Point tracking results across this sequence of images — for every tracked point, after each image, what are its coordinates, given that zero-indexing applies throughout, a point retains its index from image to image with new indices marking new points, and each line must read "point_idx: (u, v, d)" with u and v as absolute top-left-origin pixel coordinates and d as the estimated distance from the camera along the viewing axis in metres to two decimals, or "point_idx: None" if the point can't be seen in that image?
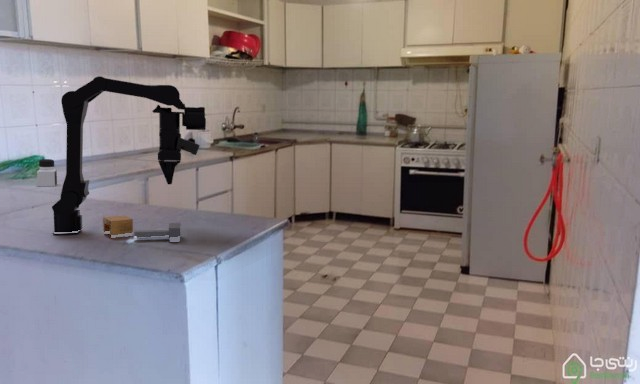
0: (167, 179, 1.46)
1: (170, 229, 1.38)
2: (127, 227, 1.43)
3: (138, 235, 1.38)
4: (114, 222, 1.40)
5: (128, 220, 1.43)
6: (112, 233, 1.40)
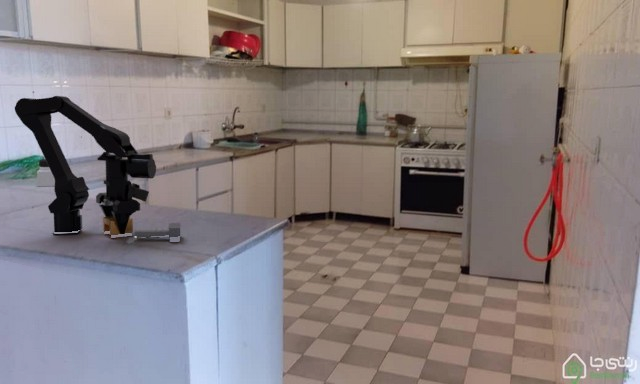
0: (120, 229, 1.41)
1: (170, 229, 1.38)
2: (127, 227, 1.43)
3: (138, 235, 1.38)
4: (114, 222, 1.40)
5: (128, 220, 1.43)
6: (112, 233, 1.40)
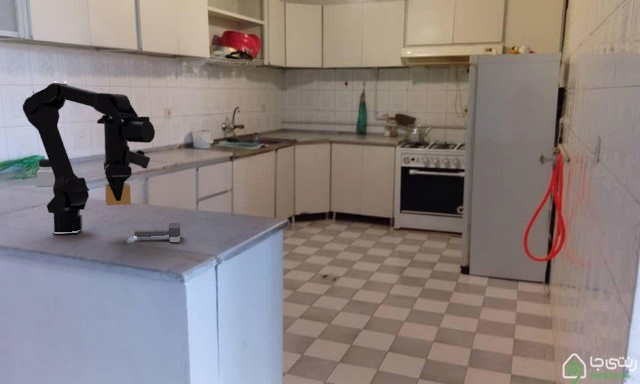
0: (116, 195, 1.35)
1: (170, 229, 1.38)
2: (124, 194, 1.36)
3: (138, 235, 1.38)
4: (110, 188, 1.35)
5: (125, 187, 1.36)
6: (108, 199, 1.35)
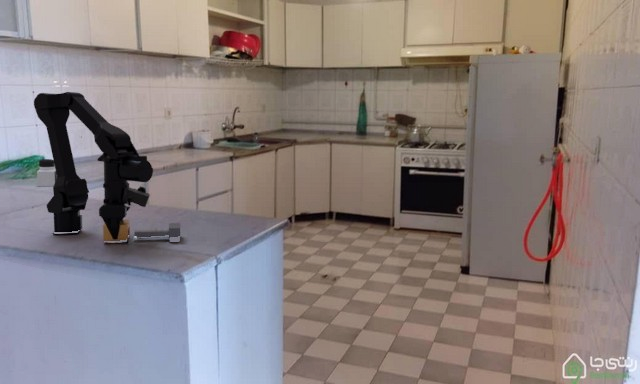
0: (112, 234, 1.34)
1: (170, 229, 1.38)
2: (121, 233, 1.35)
3: (138, 235, 1.38)
4: None
5: (122, 225, 1.35)
6: (105, 238, 1.34)
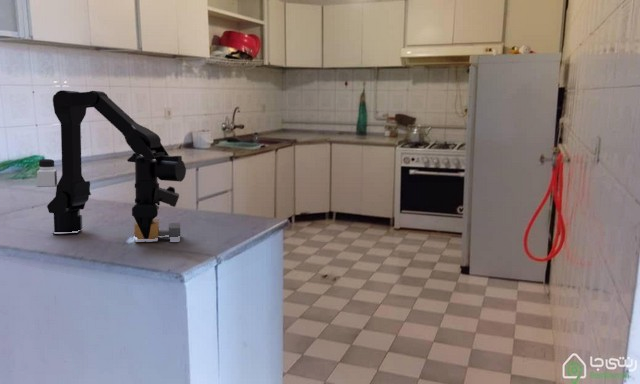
0: (143, 233, 1.36)
1: (170, 229, 1.38)
2: (152, 232, 1.37)
3: None
4: (138, 226, 1.36)
5: (153, 225, 1.37)
6: None
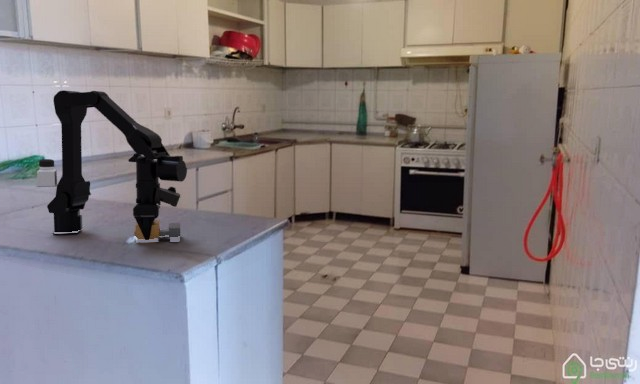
0: (144, 234, 1.35)
1: (170, 229, 1.38)
2: (153, 233, 1.37)
3: None
4: None
5: (154, 226, 1.37)
6: None
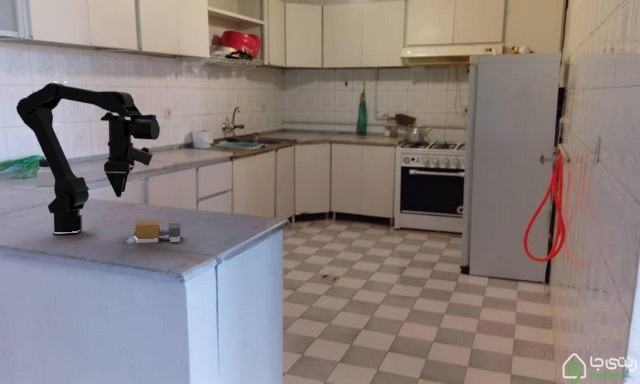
0: (116, 191, 1.37)
1: (170, 229, 1.38)
2: (153, 233, 1.37)
3: None
4: (139, 226, 1.36)
5: (154, 226, 1.37)
6: None
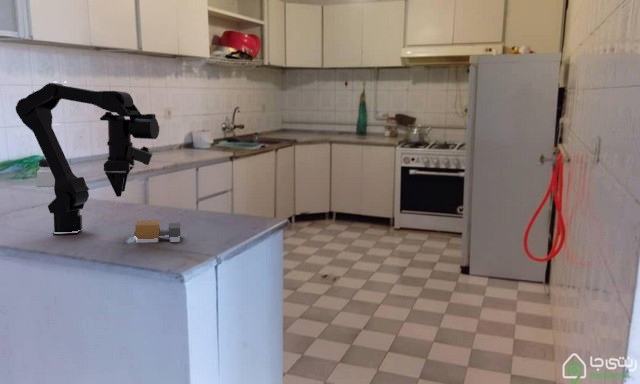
0: (116, 191, 1.37)
1: (170, 229, 1.38)
2: (153, 233, 1.37)
3: None
4: (139, 226, 1.36)
5: (154, 226, 1.37)
6: None
